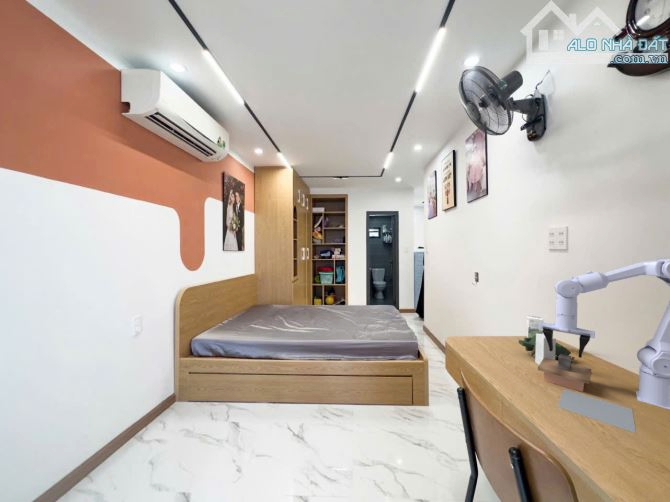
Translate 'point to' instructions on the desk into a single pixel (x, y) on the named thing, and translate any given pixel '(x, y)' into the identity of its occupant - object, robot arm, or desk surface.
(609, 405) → the rubber mat
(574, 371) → the walnut lid
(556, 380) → the pink open box
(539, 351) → the skincare box
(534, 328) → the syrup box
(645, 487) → the desk surface
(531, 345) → the green toy dinosaur
